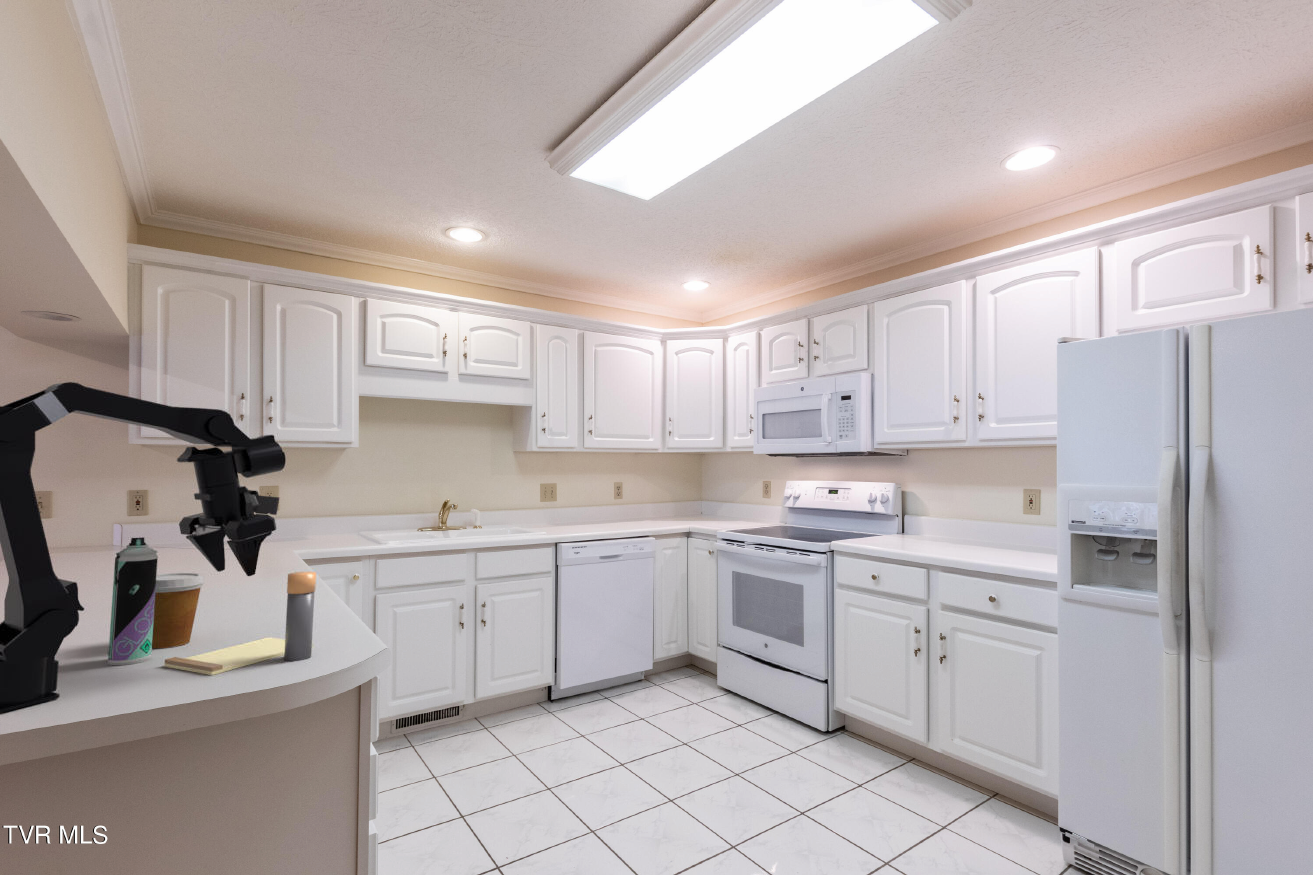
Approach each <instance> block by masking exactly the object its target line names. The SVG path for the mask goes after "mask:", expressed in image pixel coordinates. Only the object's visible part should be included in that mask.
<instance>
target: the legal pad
mask: <svg viewBox="0 0 1313 875" xmlns="http://www.w3.org/2000/svg"><path fill="white" fill-rule="evenodd" d="M313 646H314V644H313V643H312V648H313ZM284 652H285V638H283V639H282V638H275V637H270V636H269V637H265V638H261V639H257V640H253V641H249V642H246V643H240V644H237V645H232V646H228V647H225V648H221V649H217V650H213V651H208V652H205V653H201V654H197V655H192V656H188V657H184V658H183V657H178V656H174V657H168V658H165V659H164V667H165V668H171V669H175V670H183V671H187V672H193V673H197V674H198V673H199V674H203V675H209V676H214V675H218V674H221V673H225V672H228V671H231V670H234V669H238V668H242V667H247V666H249V665H253V664H256V663H260V662H264V661H266V660H270V659H273V658H277V657H281V656H284Z"/></svg>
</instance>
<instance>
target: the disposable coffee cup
mask: <svg viewBox="0 0 1313 875" xmlns="http://www.w3.org/2000/svg"><path fill="white" fill-rule="evenodd" d="M204 583H205V580H203V576H202V573H195V572H194V573H193V572H178V573H177V572H176V573H175V572H174V573H164V574H163V573H161V574H157V575H156V590H155V605H154V621H153V636H152V649H169V648H175V647H179V646H183V645H187V644H189V643H190V641H191V638H192V637H191V636H192V632H193V627H194V622H195V617H196V613H197V609H198V608H197V607H198V603H199V598H200V594H201V588H202V587H203V584H204Z"/></svg>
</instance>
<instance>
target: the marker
mask: <svg viewBox="0 0 1313 875" xmlns="http://www.w3.org/2000/svg"><path fill="white" fill-rule="evenodd" d="M316 580H317V572H315V571H297V572H296V571H295V572H290V573H287V583H286V585H287V586H286V593H287V596H286V614H285V615H286V616H285V636H284V640H285V652H284V655H283V660H284V661H286V662H297V661H305V660H308V659H310V658H311V657H312V651H313V650H312V649H313V647H312V644H313V630H314V629H313V628H314V613H315V612H314V607H315V606H314V605H315V592H316V583H317V582H316Z"/></svg>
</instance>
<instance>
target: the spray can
mask: <svg viewBox="0 0 1313 875" xmlns="http://www.w3.org/2000/svg"><path fill="white" fill-rule="evenodd" d="M157 554H158V551H157V550H155V549H153V548H152V547H150V546H149V544H148V543H147V542H145V537H131V539H130V542H129V544H127V545H126V548H123V549H121V550H120V551H118V552H116V553H115V555H116V556H115V558H114V568H113V570H114V571H113V584H112V596H111V597H112V600H111V612H110V625H109V626H110V627H109V642H108V656H107V657H108V658H107V665H111V666H126V665H133V664H140V663H144V662H146V661H149V660H151V658H152V653H153V652H152V649H153V648H152V636H153V621H154V605H155V590H156V575H158V573H157V572H158V571H157V570H158V559H159V558H158V555H157Z"/></svg>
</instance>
